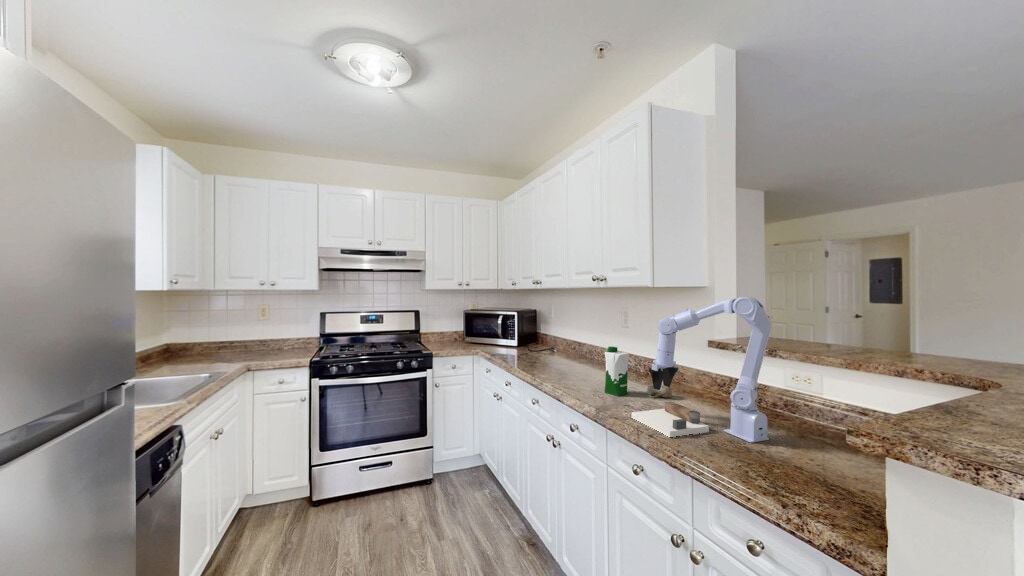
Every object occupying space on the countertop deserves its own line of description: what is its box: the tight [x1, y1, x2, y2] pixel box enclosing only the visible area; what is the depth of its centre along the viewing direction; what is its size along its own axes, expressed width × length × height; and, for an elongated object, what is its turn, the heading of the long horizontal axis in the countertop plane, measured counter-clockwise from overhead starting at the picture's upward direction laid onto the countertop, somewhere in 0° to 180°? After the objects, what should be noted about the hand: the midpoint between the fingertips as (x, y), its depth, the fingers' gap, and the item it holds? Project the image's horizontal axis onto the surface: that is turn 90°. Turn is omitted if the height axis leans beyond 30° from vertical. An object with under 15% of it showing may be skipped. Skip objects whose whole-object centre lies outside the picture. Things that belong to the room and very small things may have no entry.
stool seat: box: [631, 408, 710, 438], centre depth 122 cm, size 18×16×4 cm
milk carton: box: [604, 346, 630, 397], centre depth 159 cm, size 9×9×20 cm
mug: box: [647, 380, 673, 399], centre depth 156 cm, size 8×10×10 cm
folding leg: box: [664, 401, 701, 423], centre depth 124 cm, size 13×3×3 cm, turn 20°
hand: (661, 387), depth 132 cm, fingers open, 7 cm apart
